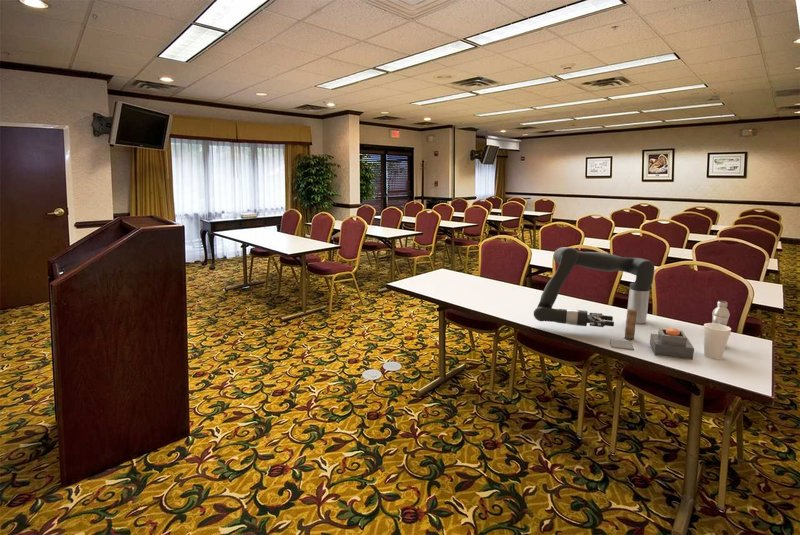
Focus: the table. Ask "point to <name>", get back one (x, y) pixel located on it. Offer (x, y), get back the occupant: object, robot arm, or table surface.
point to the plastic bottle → (720, 313)
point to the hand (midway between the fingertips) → (613, 321)
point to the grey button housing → (671, 345)
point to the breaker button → (672, 332)
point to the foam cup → (715, 339)
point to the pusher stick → (630, 324)
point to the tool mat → (621, 344)
